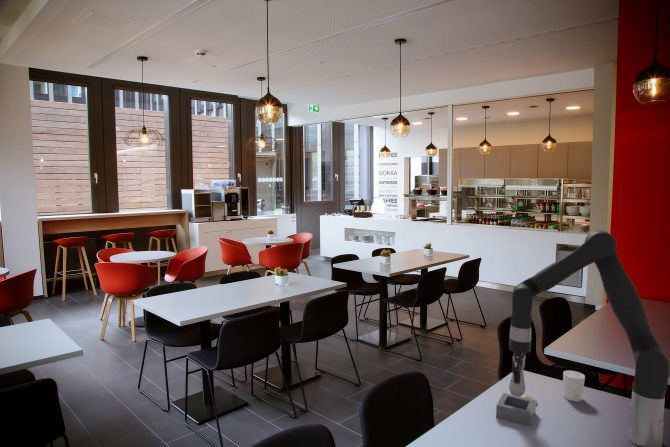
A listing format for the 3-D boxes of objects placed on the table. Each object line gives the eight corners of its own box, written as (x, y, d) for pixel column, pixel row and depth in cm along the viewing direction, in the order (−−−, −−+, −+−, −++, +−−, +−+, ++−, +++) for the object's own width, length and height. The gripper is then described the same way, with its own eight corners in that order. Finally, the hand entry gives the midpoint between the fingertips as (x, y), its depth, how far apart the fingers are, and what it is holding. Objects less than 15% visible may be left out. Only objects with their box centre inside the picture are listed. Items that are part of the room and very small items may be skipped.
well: (535, 412, 181) (536, 400, 180) (530, 426, 170) (530, 413, 170) (502, 404, 187) (503, 392, 186) (495, 417, 177) (496, 404, 176)
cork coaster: (538, 399, 192) (538, 398, 191) (535, 408, 184) (535, 407, 184) (515, 394, 196) (515, 392, 196) (511, 402, 188) (511, 401, 188)
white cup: (557, 395, 196) (559, 372, 195) (570, 392, 199) (572, 369, 198) (574, 403, 188) (575, 379, 187) (587, 400, 192) (589, 376, 191)
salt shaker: (526, 398, 174) (528, 364, 173) (510, 396, 176) (511, 363, 174) (523, 391, 180) (525, 358, 179) (507, 389, 181) (509, 357, 180)
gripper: (527, 345, 168) (524, 392, 169) (534, 334, 180) (531, 378, 181) (505, 341, 172) (503, 386, 173) (513, 330, 184) (511, 373, 185)
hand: (517, 382), depth 177 cm, fingers closed on salt shaker, 3 cm apart
